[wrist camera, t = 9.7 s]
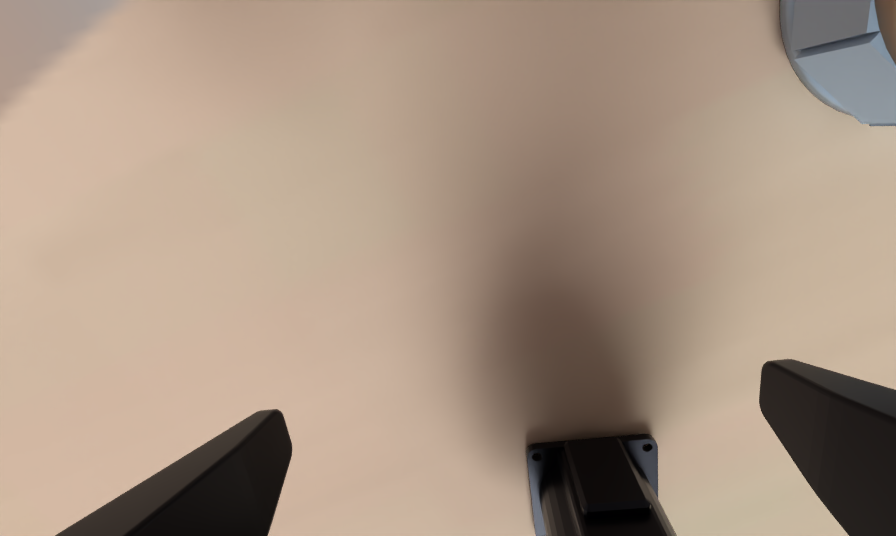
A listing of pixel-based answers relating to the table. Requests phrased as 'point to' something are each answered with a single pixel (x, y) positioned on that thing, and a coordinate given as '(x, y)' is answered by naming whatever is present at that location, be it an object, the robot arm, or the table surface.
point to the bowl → (841, 56)
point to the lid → (887, 24)
